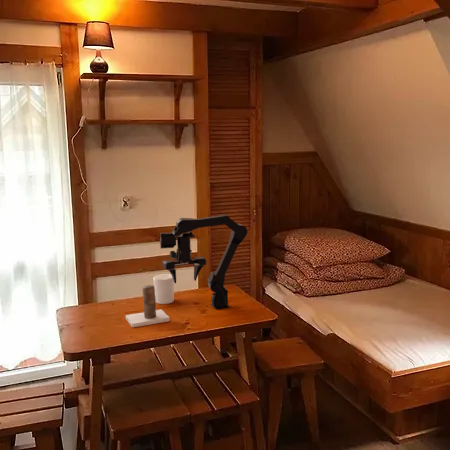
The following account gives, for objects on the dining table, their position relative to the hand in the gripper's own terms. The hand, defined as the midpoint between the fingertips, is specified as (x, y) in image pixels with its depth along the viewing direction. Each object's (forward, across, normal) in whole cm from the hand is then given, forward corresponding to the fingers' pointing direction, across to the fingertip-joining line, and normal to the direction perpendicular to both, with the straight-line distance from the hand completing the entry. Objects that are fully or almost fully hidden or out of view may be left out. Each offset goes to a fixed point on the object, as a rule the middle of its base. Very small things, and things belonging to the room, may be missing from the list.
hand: (185, 281), depth 235 cm
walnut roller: (+12, +18, +5) cm, 22 cm away
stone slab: (+13, +19, +4) cm, 23 cm away
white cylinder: (+13, +4, -17) cm, 22 cm away
